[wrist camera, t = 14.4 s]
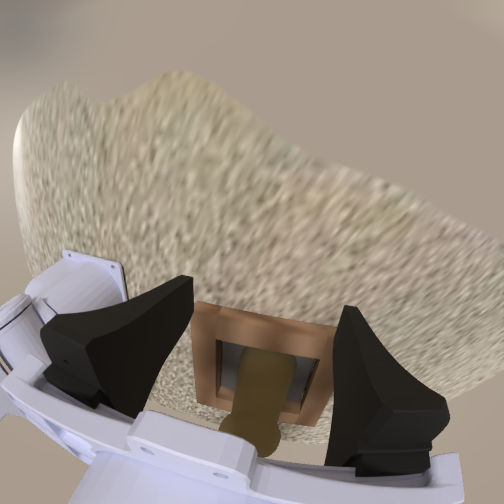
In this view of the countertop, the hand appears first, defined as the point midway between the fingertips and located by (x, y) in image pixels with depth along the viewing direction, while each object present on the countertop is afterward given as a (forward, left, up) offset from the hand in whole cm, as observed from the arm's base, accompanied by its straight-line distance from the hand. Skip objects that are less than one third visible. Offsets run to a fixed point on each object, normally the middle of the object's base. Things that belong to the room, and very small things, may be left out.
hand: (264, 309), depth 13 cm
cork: (0, -15, -10) cm, 18 cm away
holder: (0, -16, -10) cm, 19 cm away
